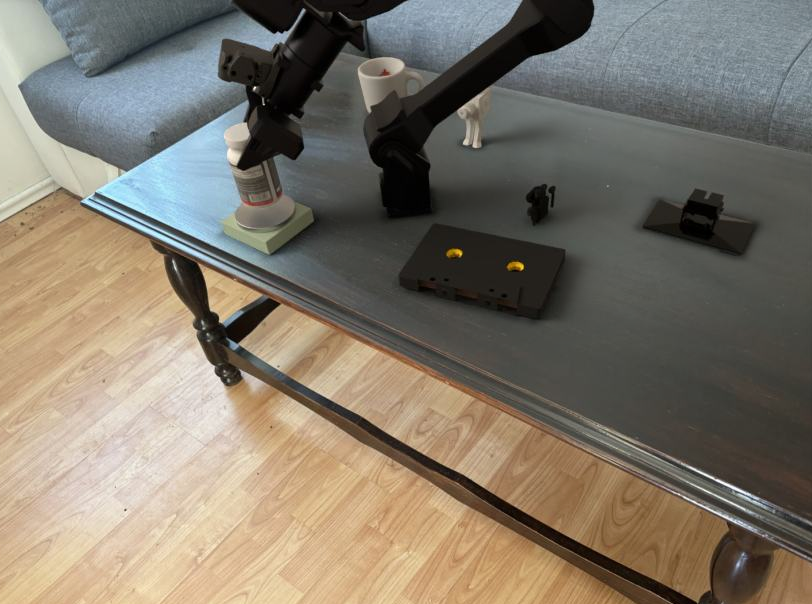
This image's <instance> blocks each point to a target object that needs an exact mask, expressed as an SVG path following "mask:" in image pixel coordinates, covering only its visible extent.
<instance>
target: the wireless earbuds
mask: <svg viewBox="0 0 812 604" xmlns="http://www.w3.org/2000/svg"><path fill="white" fill-rule="evenodd" d="M556 191H557V187H556V185H551V186H549V187H548V184H547V183H542V184H540V185H535V186H534V187H532V189H531V190H529V191H528V193H526V195H525V201H526V202H527V203H528V204H530V205H531V206H528V207H527V210H526V214H527V217H530V221H531V222H532V223H531V226H532V227H536V224H539V223H541V222H542V221H543V219H545V218H546V216H548V213H549V206H550V208H551V209H554V208H555V198H556V197H555V196H556V194H555V193H556ZM547 192H548V193H549V194H550V196H548V195H547Z"/></svg>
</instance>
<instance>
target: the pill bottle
mask: <svg viewBox="0 0 812 604" xmlns="http://www.w3.org/2000/svg"><path fill="white" fill-rule="evenodd" d="M249 135H250V133H249V130H248V128H247V122H246V123H243V122H240V123H236V124H234V125H232V126H230V127H228V128H227V129H226V130H225V131H224V133H223V137H224V142H225V144H226V146H227V147H228V150H227V152H226V156H227V162H228V165H229V169H230V170H231V174H232V176H233V180H234V183H235V186H236V188H237V191H238V195H239V198H240V200H241V203H243V204H244V205H246V206H247V207H250V208H255V209H259V208H266V207H269V206H271V205H273V204H275V203H276V202H278V201H279V200H280V198H281V197H282V194H283V193H284V192H283V187H282V182H281V180H280V175H279V172H278V168H277V165H276V162H275V157H272V158H270V159H268V160H266V161H264V162H262V163H260V164H258V165H256V166H254V167H252V168H250V169H248V170H246V171H242V170H240V169H238V168H237V163H238V160H239V158H240V155H241V153H242V151H243V149H244V146H245V144H246V142H247V139H248V137H249Z"/></svg>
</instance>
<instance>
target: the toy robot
mask: <svg viewBox="0 0 812 604" xmlns="http://www.w3.org/2000/svg"><path fill="white" fill-rule="evenodd" d="M491 94H492V88H491V86H490V87H488V88H487V89H485V90H484V91H483V92H481V93H480V94H479V95H477V96H476V97H475V98H473V99H472V100H470V101H469V102H468V103H466V104H465V105H464V106H462V107H461V108H460V109H458V110H457V111H456V112H457V114H458V117H459V118H461V119H462V120H465V123H466V134H465V139H464V140H463V142H462V145H464V146H471V145H472V148H474V149H479V148H482V146H483V145H482V134H483V131H484V123H483V121H484V120H483V118H484V117H485V116H487V114H488V113H489V112H491Z"/></svg>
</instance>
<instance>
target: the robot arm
mask: <svg viewBox="0 0 812 604" xmlns="http://www.w3.org/2000/svg"><path fill="white" fill-rule="evenodd" d="M405 2H409V0H228V2H227V3H228V4H230V5H231V6H233V7H234V8H236V9H237V10H238V11H240V12H241V13H243V14H244V15H245V16H247V17H248V18H250V19H251V20H253V21H254V22H255V23H256V24H258V25H260V26H261V27H262V28H264V29H266V30H267V31H268V32H270V33H271V34H273V35H275V34H277V33H279V34H281V35H283V34H284V33H288V32H289V31H290V30H291V29H292V30H291V32H290V33H289V34H288V37H287V38H286V39H285V40H284V43H283V42H281V41H279V42H278V43H275V44H274V45H273V47H272V48H271V50H267V49H264V48H261V47H259V46H256V45H253V44H249V43H246V42H242V41H238V40H235V39H231V38H223V39H221V44H220V49H219V50H220V51H219V58H218V64H217V67H218V68H217V77H218V79H219V80H221V81H223V82H226V83H237V84H240V85H244V86H245V87H244V88H245V89H244V90H245V95H246V98H247V101H248V102H247V103H248V104H247V107H246V111H245V113H244V118H243V119H242V123H246V122H247V128H248V130H249V133H250V135H249V137H248V139H247V142H246V144H245V146H244V149H243V151H242V153H241V155H240V158H239V160H238V163H237V168H238V169H240V170H242V171H246V170H248V169H250V168H252V167H254V166H256V165H258V164H260V163H262V162H264V161H266V160H268V159H270V158H272V157H273V158H275V157H277V156H279V155H283V156H284V157H285V158H288V159H290V160H291V161H297V159H298V158H299V156H300V155H301V154H302V152H304V149H305V143H304V137H303V132H302V127H301V124H300V123H298V122H297V121H296V120H293V119H292V118H290V116H291V115H292V116H293V117H296V118H297V119H299V120H302V118H303V116H304V115H305V112H306V111H305V107H304V106H305V104H306V103H307V101H309V99H310V97H311V96H312V95H313V93H314V91H316V92H317V93H320V92H321V91H322V89H323V88H324V80H323V78H324V77H325V76H326V74H327V72H328V71H329V69H330V68H331V67H332V65H333V64H334V62H335V61H336V59H337V58H338V56H339V55H340V53H341V52H342V51H343V50H344V48H345V47H346V45H347V43H349V44H350V45H351V46H353V47H354V48H356V49H357V50H358V51H360V52H365V51H366V45H365V40H364V31H365V26H364V23H363V21H366V20H368V19H372V18H374V17H378V16H380V15H384V14H385V13H386V14H387V13H389V12H391V11H393V10H394V9H396V8H397V7H399V6H400V5H402V4H404V3H405ZM595 8H596V7H595V3H594V0H521V1H520V3H519V5H518V6H517V8H516V10H515V12H514V13H513V14H512V17H511V18H510V20H509V21H508V22H507V23H506V24H505V25H504V26H503V27H501V28H500V29H498V30H497V31H496V32H495V33H494V34H492V35H491V36H489V38H487V39H486V40H484V41H483V42H482V43H481V44H479V45H478V46H477V47H475V48H474V49H473V50H471V51H470V52H469V53H468V54H466V55H465V56H464V57H462V58H461V59H459V61H457V62H455V63H454V64H453V65H451V67H449V68H448V69H446V71H444V72H442V73H441V74H439V75H438V76H437V77H436V78H434V79H433V80H432V81H430V82H429V83H428V84H427V85H426V86H424V88H423V89H422V90H420V91H419V92H418V91H417V92H418V93H417V92H416V93H413V94H414V95H411V96H407V97H402V98H399V96H398V94H397V92H396V90H393V91H392V92H390V93H389V94H388V95H387V96H386V97H385V98H384V99H383V100H382V101H381V102H379V103H378V104H375V105H372V106H370V109H371V112H370V113H369V112H368V115H366V117H365V119H364V120H363V127H362V131H363V136H364V141H365V144H366V147H367V151H368V154H369V157H370V160H371V161H372V163H373V164H374V165H376V167H378V168H380V169H382V172H379V173H378V178H379V180H378V181H379V189H380V196H381V204H382V207H383V208H386V217H387V218H390V219H392V218H400V217H401V218H402V217H408V216H417V215H425V214H432V213H433V212H434V207H433V203H432V198H431V186H430V185H431V183H430V171H431V167H432V164H431V161H430V160H429V157H428V155H427V151H426V149H425V147H424V146H425V144H426V143H427V141H428V139H429V137H430V136H431V134H432V133H433V131H434V130H435V128H436V127H437V126H438V125H439V124H440V123H442V122H444V121H445V120H446V119H447V118H448V117H450V116H451V115H453V114H454V113H456V112H457V110H458V109H460V108H461V107H462V106H464V105H465V104H466V103H468V102H469V101H470V100H472V99H473V98H475V97H476V96H477V95H479V94H480V93H481V92H483V91H484V90H485V89H487V88H488V87H490V88H491V86H492V85H493V84H495V83H496V82H498V81H500V79H502V78H503V77H504V76H506V75H507V74H509V73H510V72H511V71H513V70H514V69H516V68H517V67H518V66H520V65H521V64H522V63H524V62H525V61H527V60H528V59H530V58H533V57H536V56H539V55H544V54H548V53H552V52H556V51H559V50H560V49H562V48H564V47H566V46H568V45H570V44H571V43H574V42H575V41H577V40H579V39H580V38H582V37H583V36H584V35H585V34H586V33H587V32H588V31H589V30H590V29H591V27H592V22H593V20H594V16H595ZM303 10H304V11H303ZM302 11H303V13H302ZM301 13H302V14H301ZM300 15H301V16H300ZM299 17H300V18H299ZM295 23H296V24H295Z"/></svg>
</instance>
